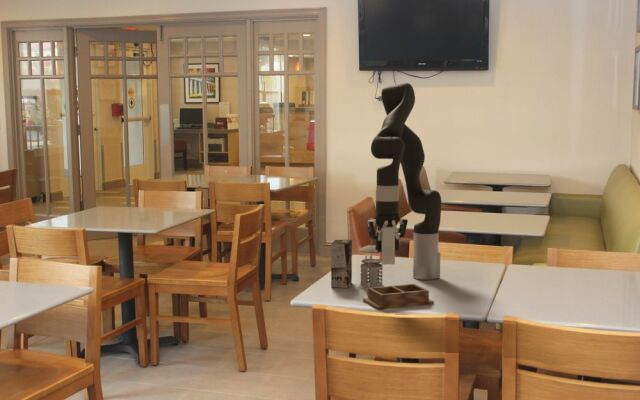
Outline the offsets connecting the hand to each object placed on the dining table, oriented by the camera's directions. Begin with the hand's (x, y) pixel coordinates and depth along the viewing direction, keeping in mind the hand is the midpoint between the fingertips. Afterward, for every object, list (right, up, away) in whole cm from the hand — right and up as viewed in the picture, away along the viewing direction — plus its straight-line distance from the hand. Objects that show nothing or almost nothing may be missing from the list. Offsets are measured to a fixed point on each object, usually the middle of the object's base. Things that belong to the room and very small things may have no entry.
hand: (387, 250), depth 248 cm
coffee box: (-14, -14, +29) cm, 35 cm away
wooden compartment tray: (+4, -17, +3) cm, 18 cm away
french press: (-4, -15, +24) cm, 28 cm away
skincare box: (0, -4, 0) cm, 4 cm away
